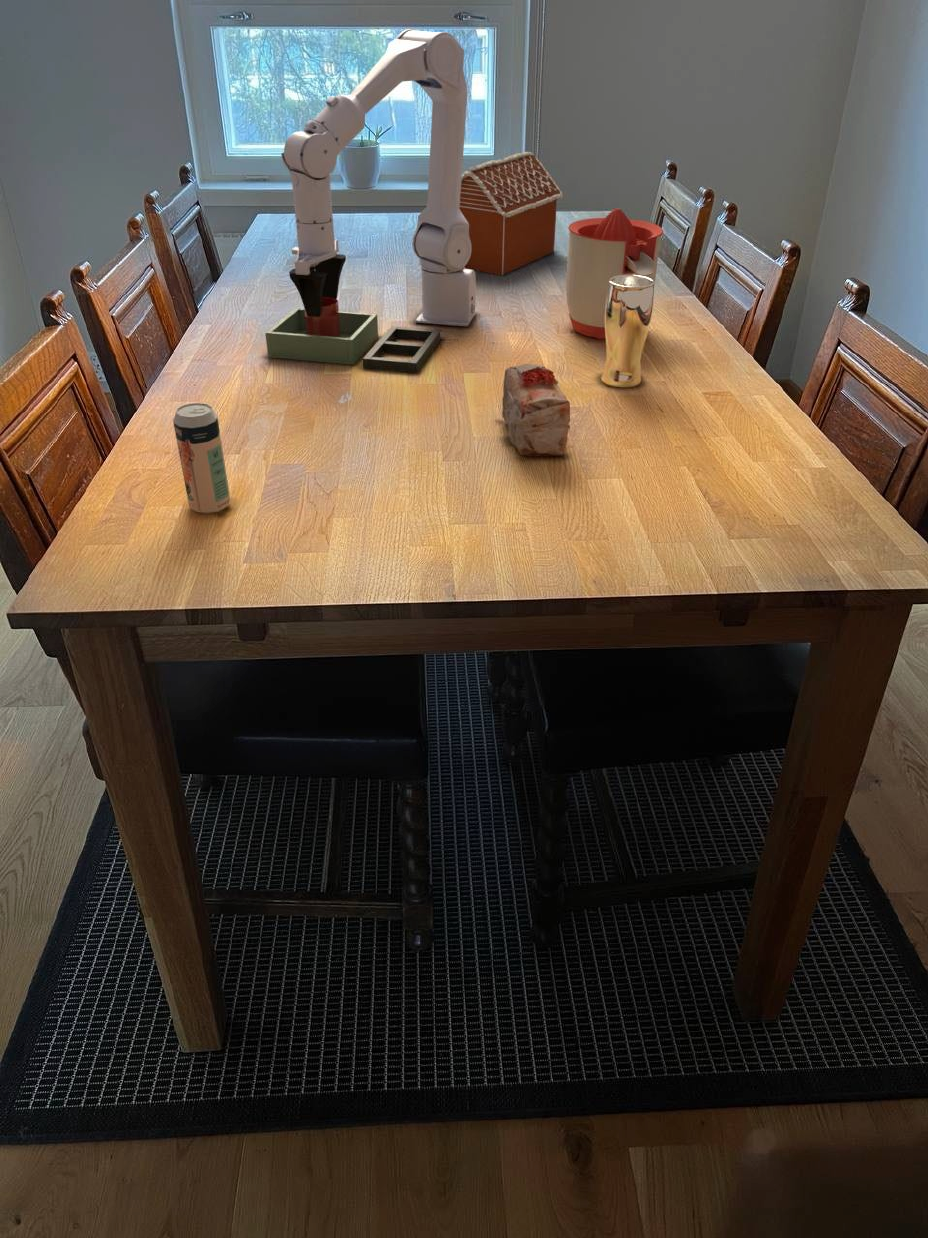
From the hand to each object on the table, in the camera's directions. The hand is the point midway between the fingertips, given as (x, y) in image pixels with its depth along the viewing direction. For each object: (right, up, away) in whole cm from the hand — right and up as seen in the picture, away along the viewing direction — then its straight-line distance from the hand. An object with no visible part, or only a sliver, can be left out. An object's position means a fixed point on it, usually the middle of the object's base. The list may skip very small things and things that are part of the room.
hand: (322, 308), depth 149 cm
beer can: (-7, -38, -41) cm, 56 cm away
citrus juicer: (+49, 0, +11) cm, 50 cm away
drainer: (+13, -7, +2) cm, 15 cm away
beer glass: (+48, -14, -7) cm, 50 cm away
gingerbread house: (+31, +28, +51) cm, 66 cm away
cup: (0, -5, +3) cm, 6 cm away
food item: (+32, -27, -26) cm, 49 cm away
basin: (0, -5, +4) cm, 6 cm away
